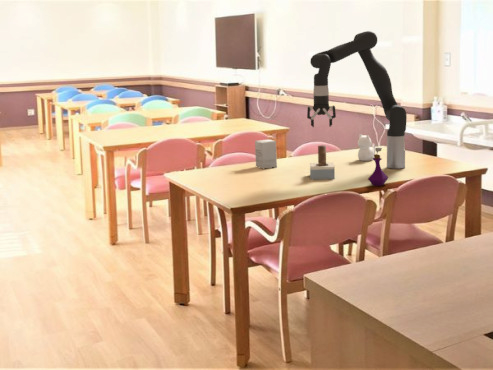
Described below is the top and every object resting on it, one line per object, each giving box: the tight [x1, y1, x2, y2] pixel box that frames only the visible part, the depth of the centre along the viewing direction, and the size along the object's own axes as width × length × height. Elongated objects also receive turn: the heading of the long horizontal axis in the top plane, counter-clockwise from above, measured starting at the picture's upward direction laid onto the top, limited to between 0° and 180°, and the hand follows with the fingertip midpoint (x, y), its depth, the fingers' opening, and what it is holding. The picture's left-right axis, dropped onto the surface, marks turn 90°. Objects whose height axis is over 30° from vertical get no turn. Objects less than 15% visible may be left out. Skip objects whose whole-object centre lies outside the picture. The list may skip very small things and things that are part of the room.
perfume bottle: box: [367, 147, 389, 187], centre depth 341 cm, size 8×8×18 cm
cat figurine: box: [357, 133, 377, 162], centre depth 408 cm, size 9×12×15 cm
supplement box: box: [254, 138, 278, 169], centre depth 397 cm, size 9×9×15 cm
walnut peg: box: [317, 144, 327, 166], centre depth 365 cm, size 4×4×16 cm
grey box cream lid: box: [309, 162, 336, 180], centre depth 366 cm, size 12×12×6 cm
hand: (321, 126), depth 361 cm, fingers open, 8 cm apart
